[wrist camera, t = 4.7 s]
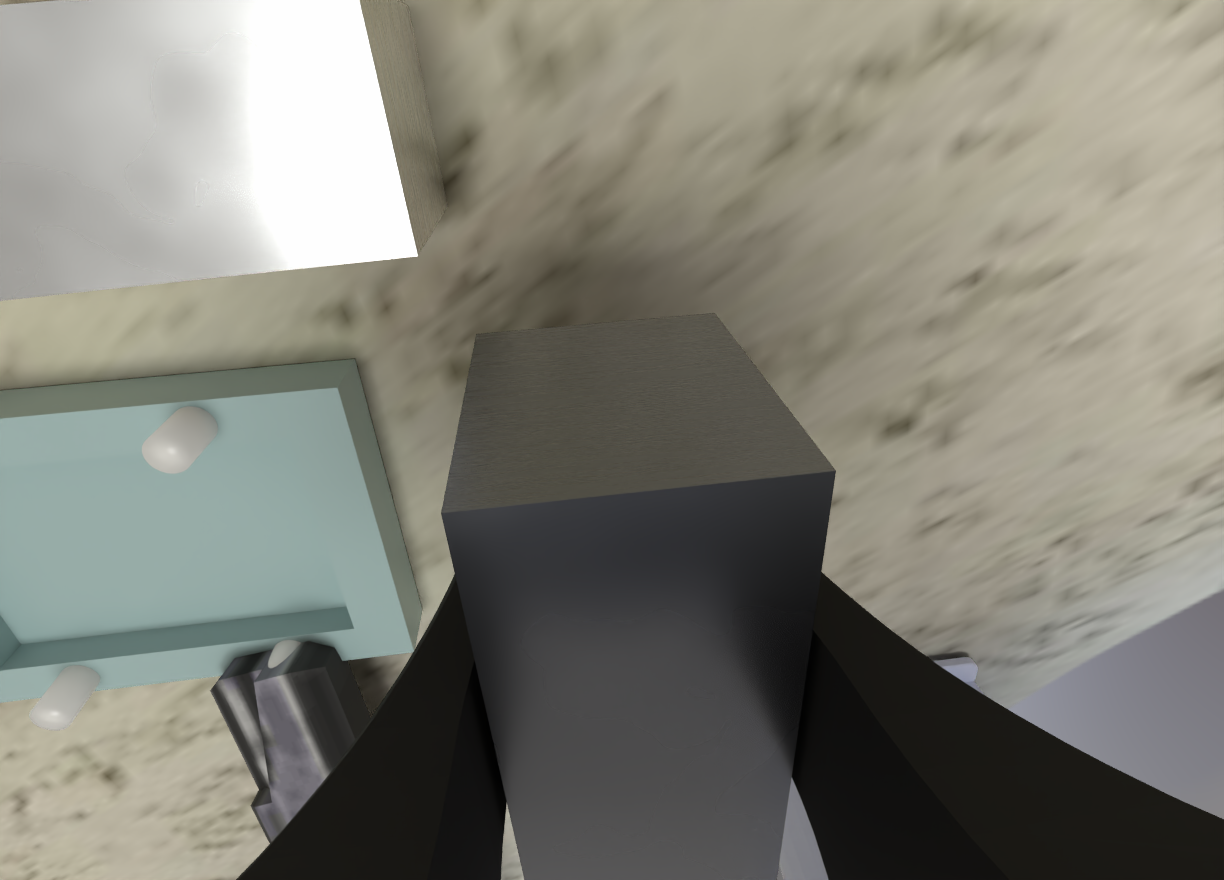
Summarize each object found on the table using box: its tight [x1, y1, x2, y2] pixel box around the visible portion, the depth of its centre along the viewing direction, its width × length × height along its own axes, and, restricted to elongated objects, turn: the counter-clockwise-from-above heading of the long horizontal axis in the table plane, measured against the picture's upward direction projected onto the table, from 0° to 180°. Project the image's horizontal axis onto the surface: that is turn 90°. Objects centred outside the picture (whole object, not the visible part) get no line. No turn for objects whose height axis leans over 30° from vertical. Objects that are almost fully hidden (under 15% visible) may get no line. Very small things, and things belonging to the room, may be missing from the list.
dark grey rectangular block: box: [441, 313, 836, 880], centre depth 11 cm, size 8×4×5 cm, turn 3°
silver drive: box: [0, 0, 448, 301], centre depth 12 cm, size 8×4×5 cm, turn 95°
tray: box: [0, 359, 422, 730], centre depth 17 cm, size 13×9×3 cm
